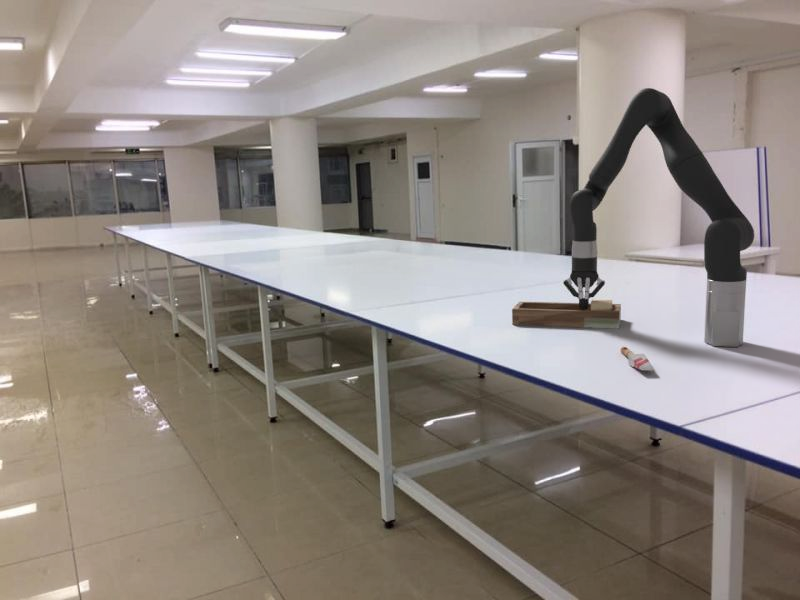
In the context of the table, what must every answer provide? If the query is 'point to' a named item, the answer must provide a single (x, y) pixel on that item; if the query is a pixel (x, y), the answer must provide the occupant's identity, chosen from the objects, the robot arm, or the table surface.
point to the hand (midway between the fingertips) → (583, 310)
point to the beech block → (601, 305)
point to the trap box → (564, 315)
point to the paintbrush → (637, 360)
